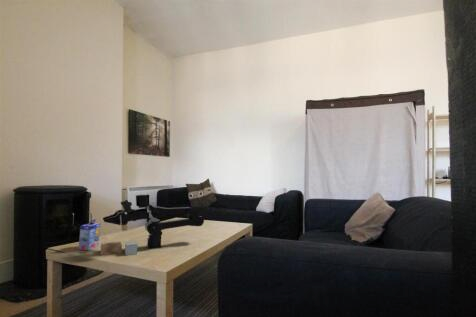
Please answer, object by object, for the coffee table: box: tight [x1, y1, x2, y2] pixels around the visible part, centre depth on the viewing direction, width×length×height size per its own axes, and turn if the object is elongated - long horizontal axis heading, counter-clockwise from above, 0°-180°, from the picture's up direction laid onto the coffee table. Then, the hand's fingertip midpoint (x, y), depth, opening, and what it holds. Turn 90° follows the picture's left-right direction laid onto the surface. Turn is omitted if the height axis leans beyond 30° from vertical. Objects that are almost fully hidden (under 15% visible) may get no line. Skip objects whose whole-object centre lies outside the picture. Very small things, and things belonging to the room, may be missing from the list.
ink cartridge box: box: [78, 219, 101, 251], centre depth 136 cm, size 10×6×14 cm, turn 178°
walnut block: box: [100, 241, 123, 256], centre depth 128 cm, size 9×9×4 cm
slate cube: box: [124, 241, 138, 256], centre depth 126 cm, size 5×5×5 cm
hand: (103, 219), depth 127 cm, fingers open, 9 cm apart
